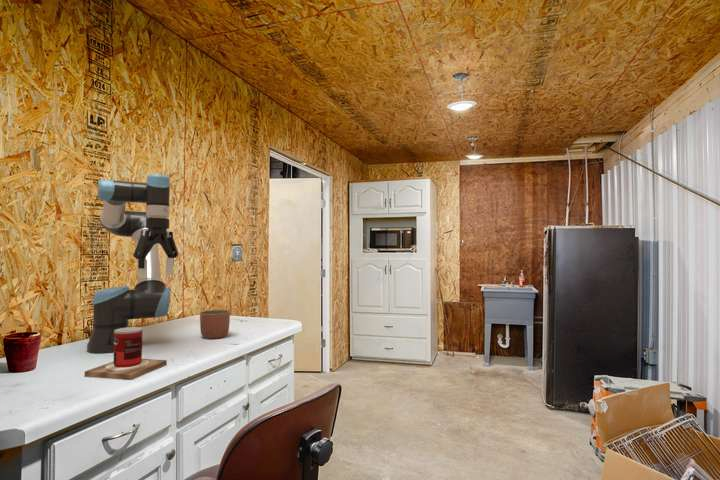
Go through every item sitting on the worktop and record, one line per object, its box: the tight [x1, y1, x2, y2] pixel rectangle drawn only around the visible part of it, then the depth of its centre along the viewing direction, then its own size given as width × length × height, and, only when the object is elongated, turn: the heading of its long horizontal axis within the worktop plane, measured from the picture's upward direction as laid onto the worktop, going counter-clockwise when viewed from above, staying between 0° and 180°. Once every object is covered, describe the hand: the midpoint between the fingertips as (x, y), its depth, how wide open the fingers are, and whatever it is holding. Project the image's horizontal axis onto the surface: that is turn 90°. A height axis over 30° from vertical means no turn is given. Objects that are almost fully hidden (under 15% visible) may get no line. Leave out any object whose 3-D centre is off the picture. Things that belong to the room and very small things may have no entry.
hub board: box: [84, 358, 168, 381], centre depth 129 cm, size 16×16×2 cm
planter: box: [199, 309, 231, 340], centre depth 178 cm, size 12×12×11 cm
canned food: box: [113, 326, 143, 367], centre depth 129 cm, size 8×8×11 cm
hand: (156, 276), depth 147 cm, fingers open, 13 cm apart
